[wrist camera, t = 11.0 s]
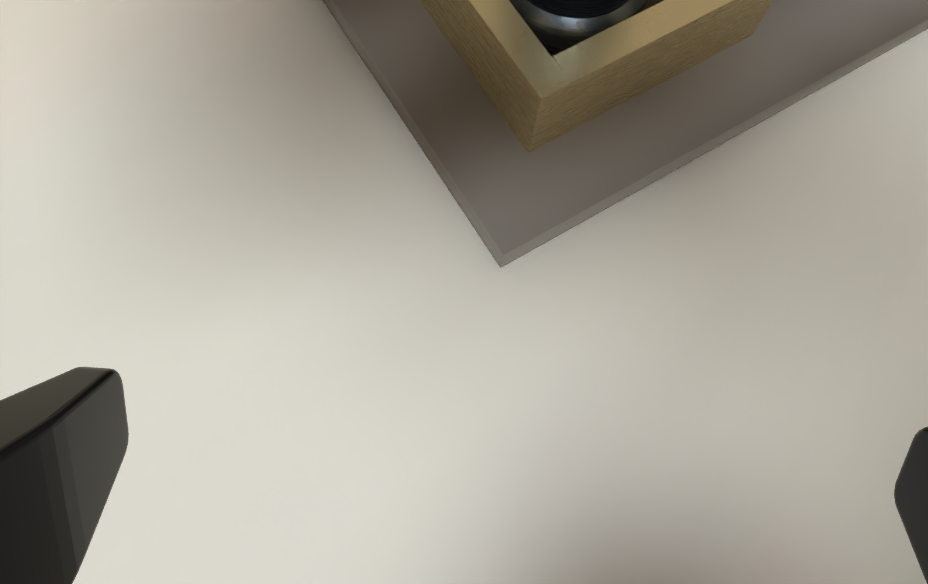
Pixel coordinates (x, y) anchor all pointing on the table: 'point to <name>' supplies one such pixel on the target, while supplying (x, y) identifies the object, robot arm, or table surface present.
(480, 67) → the socket
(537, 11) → the steel coupler
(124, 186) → the table surface
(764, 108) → the shaft board
